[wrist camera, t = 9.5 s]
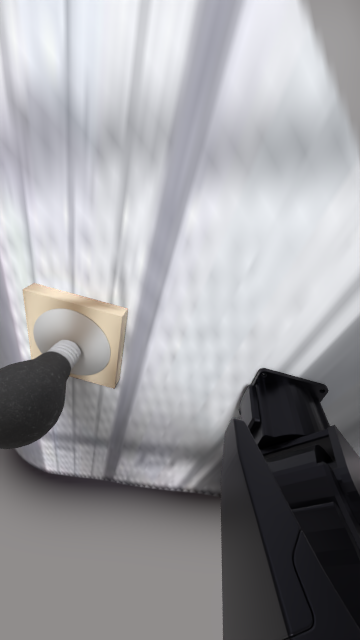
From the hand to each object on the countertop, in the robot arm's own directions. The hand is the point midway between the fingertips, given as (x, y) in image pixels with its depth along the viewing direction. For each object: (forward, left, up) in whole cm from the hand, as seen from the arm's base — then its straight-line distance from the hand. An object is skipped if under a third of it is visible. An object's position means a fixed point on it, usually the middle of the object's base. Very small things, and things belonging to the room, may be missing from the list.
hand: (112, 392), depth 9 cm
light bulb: (+8, +9, -12) cm, 17 cm away
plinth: (+8, +9, -13) cm, 18 cm away
